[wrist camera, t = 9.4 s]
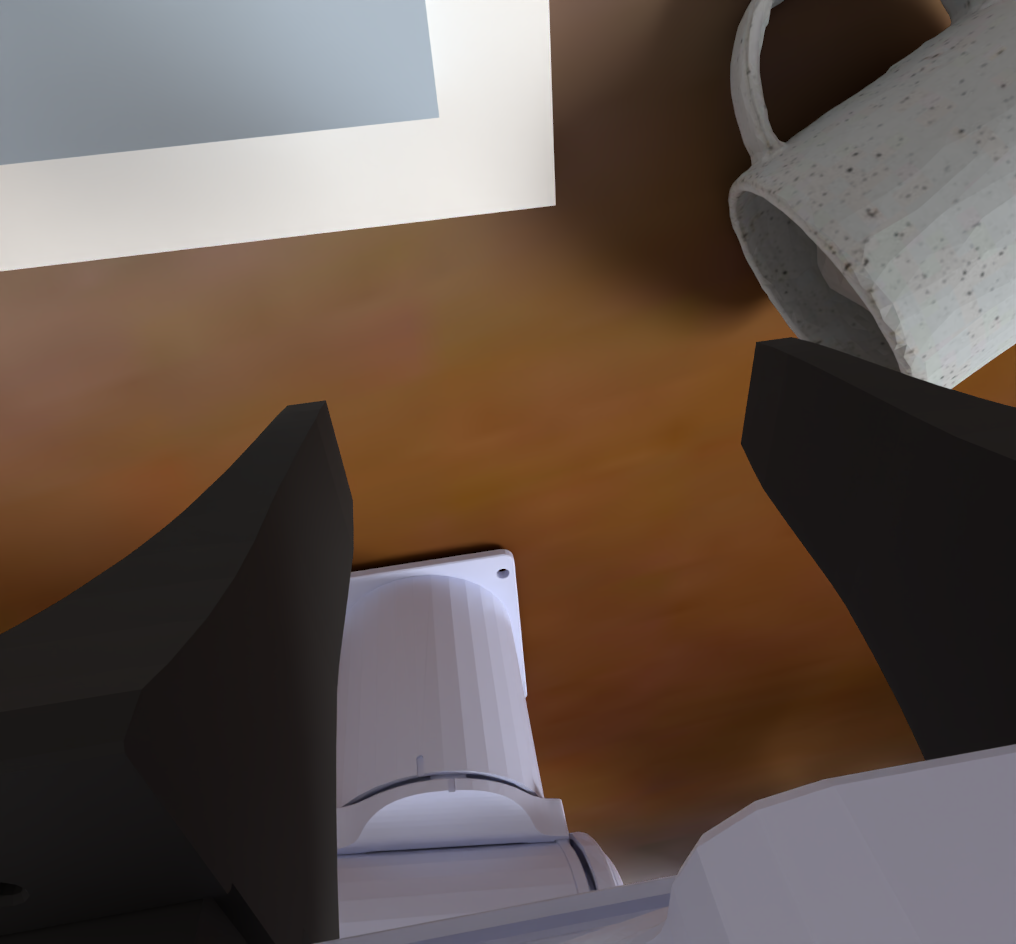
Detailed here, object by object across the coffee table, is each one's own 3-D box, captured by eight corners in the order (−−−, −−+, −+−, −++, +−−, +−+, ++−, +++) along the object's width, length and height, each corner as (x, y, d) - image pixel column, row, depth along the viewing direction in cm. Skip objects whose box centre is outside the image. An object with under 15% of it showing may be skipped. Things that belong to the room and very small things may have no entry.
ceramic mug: (1025, 186, 21) (1285, 264, 15) (792, 347, 24) (935, 472, 17) (925, -185, 16) (1269, -305, 10) (634, 68, 18) (760, 105, 12)
